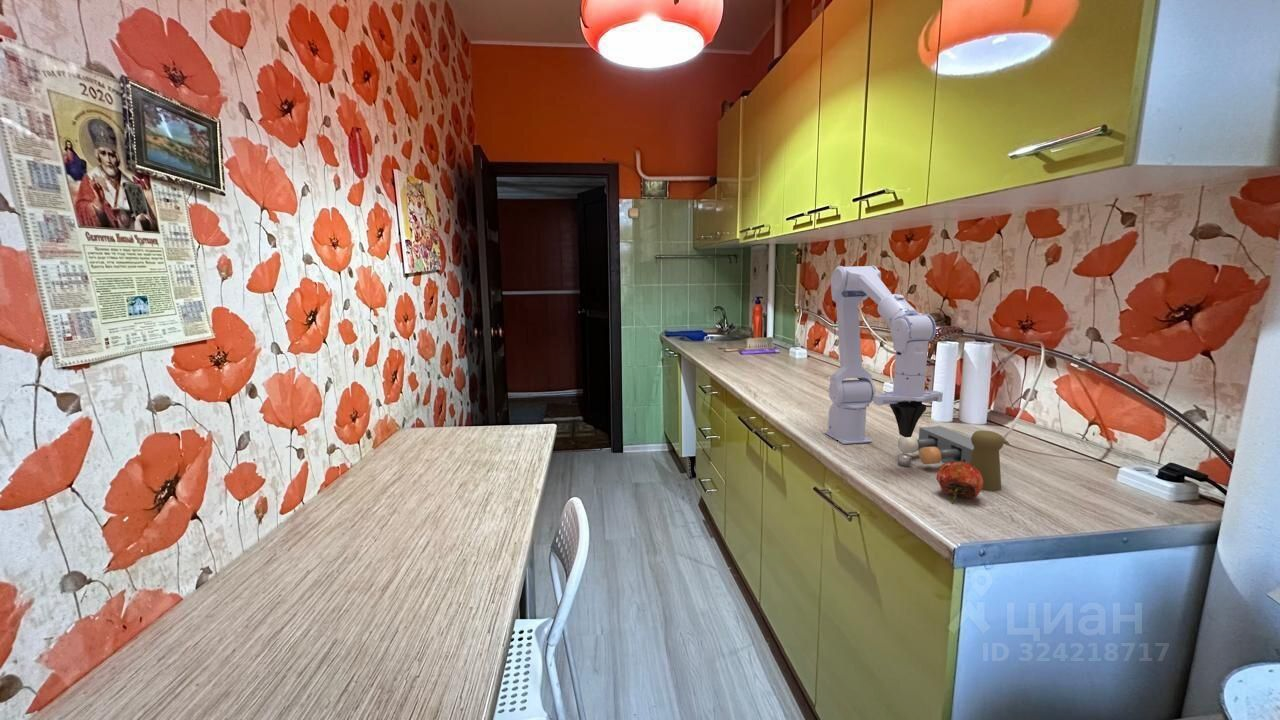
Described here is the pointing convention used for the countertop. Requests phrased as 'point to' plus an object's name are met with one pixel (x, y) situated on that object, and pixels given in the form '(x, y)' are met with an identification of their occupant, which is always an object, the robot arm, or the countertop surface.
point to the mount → (949, 441)
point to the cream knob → (915, 444)
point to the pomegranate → (960, 479)
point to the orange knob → (937, 454)
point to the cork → (987, 458)
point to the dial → (904, 460)
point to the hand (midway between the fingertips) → (905, 435)
